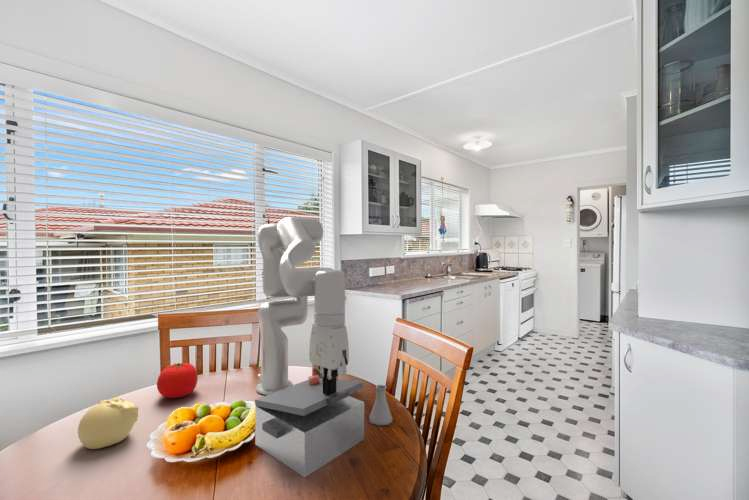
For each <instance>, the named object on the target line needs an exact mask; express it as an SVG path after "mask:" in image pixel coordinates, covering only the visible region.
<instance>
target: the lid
mask: <svg viewBox="0 0 749 500" xmlns="http://www.w3.org/2000/svg"><path fill="white" fill-rule="evenodd" d="M362 389H364V382H363V381H355V380H354V381H353V380H345V379H344V380H343V379H338V380H336V392H335V393H333V394H330V395H326V394H323V378H319V375H314V376H312V375H310V376H308V378H307V380H305V381H301V382H299V383H296V384H292V386H290V387H288V388H285V389H282V390H280V391H277V392H274V393H272V394H269V395H263V396H261V397H259V398H255V399H254V404H255V406H259V407H264V408H269V409H273V410H278V411H283V412H288V413H292V414H297V415H302V416H305V415H307V414H309V413H311V412H313V411H315V410H317V409H320V408H322V407H324V406H326V405H328V404H333V403H336V402H338V401H340V400H342V399H344V398H346V397H348V396H349V395H351V394H353V393H356V392H357V391H360V390H362Z"/></svg>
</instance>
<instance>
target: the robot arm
mask: <svg viewBox="0 0 749 500" xmlns="http://www.w3.org/2000/svg"><path fill="white" fill-rule="evenodd" d="M323 237H324V229H323V225H322V223H321V221H319V219H317V218H315V217H307V216H306V217H305V216H286V217H284V218H282V219H280V220H279V222H278V223H266V224H262V225H261V226H260V227H259V229H258V233H257V243H258V247H259V250H260V253H261V258H262V291H263V294H264V295H265V297H268V298H273V299H274V298H288V297H292V298H293V299H286V300H285V299H284V300H283V299H282V300H272V301H267V302H264V303H262V304H261V305H260V306H259V307H258V311H257V316H258V317H257V319H258V323H259V331H260V373H259V374H257V378H258V379H260V380H259V383H258V384H256V387H255V391H256V392H257V393H258V394H260V395H263V396H266V395H269V394H272V393H274V392H277V391H280V390H282V389H285V388H288V387H290V386H293V382H292V381H291V380H289V339H288V336H287V334H286V333H285V332H284V331H283V330H282V328H286V327H290V326H291V327H292V326H299V325H302V324H304V323H305V322H306V321H307V317H308V301H309V300H308V297H314V313H313V314H314V315H313V317H314V323H313V324H312V327H311V330H310V332H311V333H310V336H309V337H310V338H309V355H308V356H309V359H308V360H309V362H310V363H313V364H314V365H315V366H317V367H318V368H319V369H320V372H321V377H323V394H326V395H330V394H333V393H335V392H336V377H338V378H339V375H344V374H346V373H347V372H348V371H347V366H348V365H349V359H350V354H349V351H350V349H349V347H350V346H349V339H348V338H349V337H348V331H347V330H348V329H347V326H346V275H345V272H344V271H342V270H340V269H333V268H331V267H300V268H299V267H298V266H299V265H302V264H305V263H306V262H308V261H309V260H310V259H312V258H313V257H314V254H315V253H316V245H317V244H319V243H320V242H321V241H322V239H323ZM282 249H285V252H284V250H282Z"/></svg>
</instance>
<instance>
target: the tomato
mask: <svg viewBox="0 0 749 500" xmlns="http://www.w3.org/2000/svg"><path fill="white" fill-rule="evenodd" d="M198 376H199V375H198V371H197V369H196V368H195V366H194V365H193V364H191V363H188V362H186V361H185V362H180V363H179V362H178V363H172V364H170V365H168V366H166V367H165V368H164V369H163V370H162V371H160V374H159V375H158V378H157V382H156V387H157V391H158V393H159V395H161V396H162V397H164V398H170V399H175V398H176V399H177V398H178V399H179V398H182V397H185V396H188V395H190V394H191V393H192V392H194V390H195V389H196V387H197V384H198Z"/></svg>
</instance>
